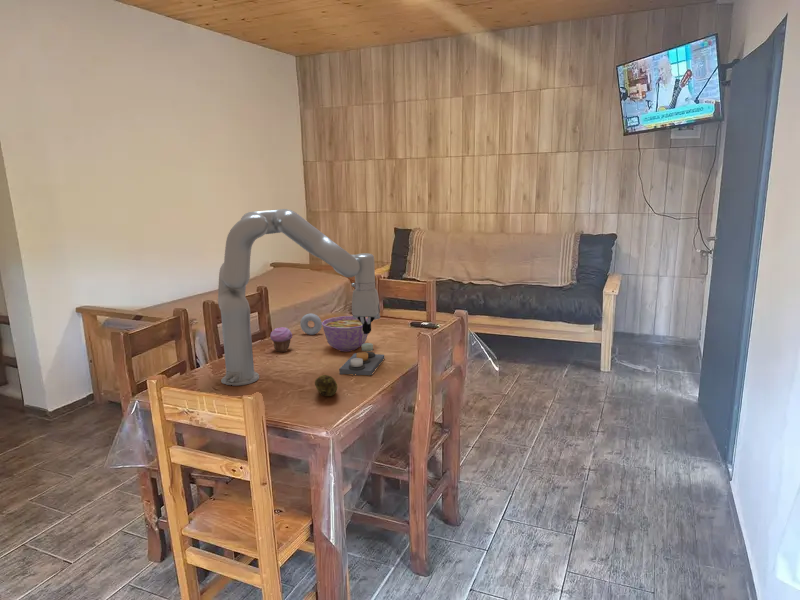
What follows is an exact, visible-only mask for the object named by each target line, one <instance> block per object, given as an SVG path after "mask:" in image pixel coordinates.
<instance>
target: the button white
mask: <svg viewBox="0 0 800 600" xmlns="http://www.w3.org/2000/svg"><path fill="white" fill-rule="evenodd" d="M351 366H352V367H361V366H363V359H362V358H353V359H351Z"/></svg>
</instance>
